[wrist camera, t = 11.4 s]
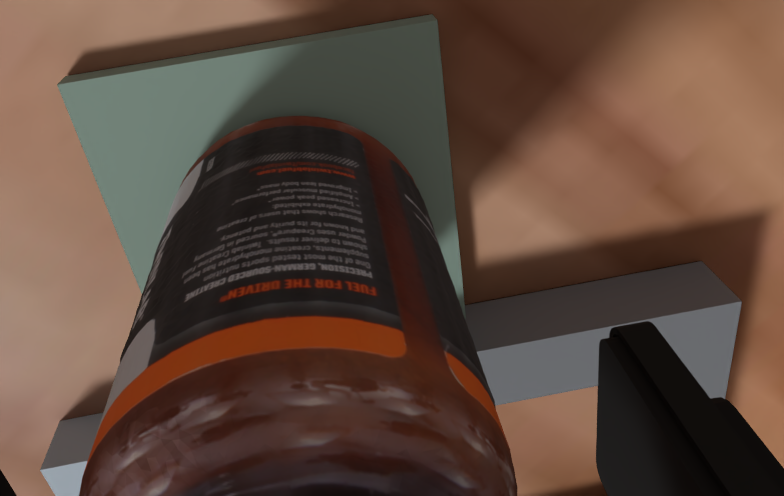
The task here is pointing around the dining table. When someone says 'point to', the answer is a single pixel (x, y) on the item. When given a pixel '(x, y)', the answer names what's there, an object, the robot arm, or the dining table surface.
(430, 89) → the pad
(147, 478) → the supplement bottle
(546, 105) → the dining table surface
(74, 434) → the crook tool
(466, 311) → the hole board
